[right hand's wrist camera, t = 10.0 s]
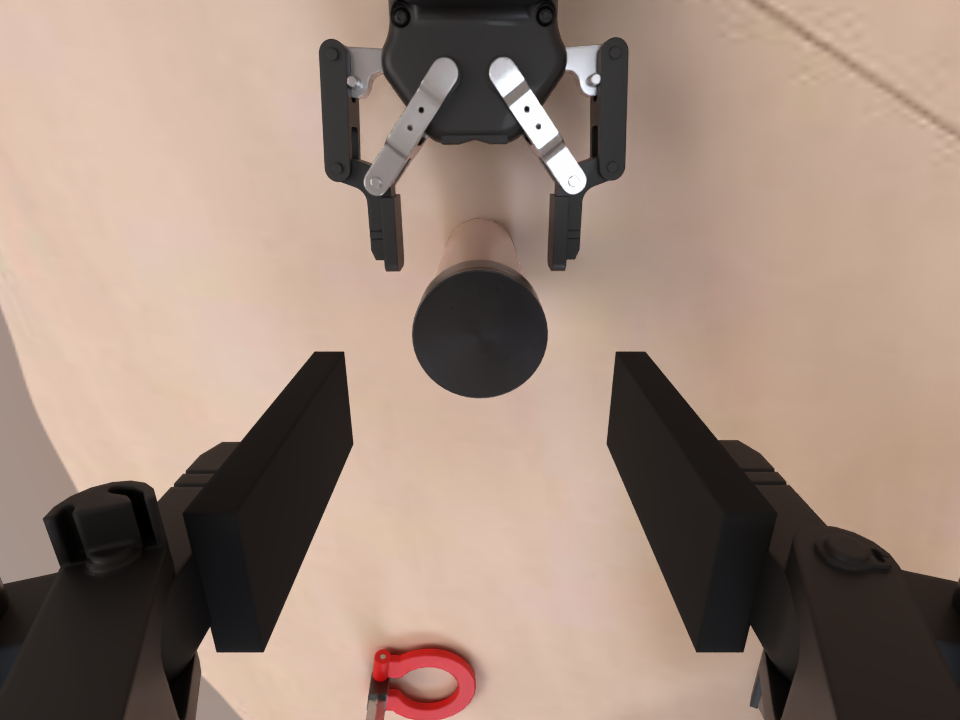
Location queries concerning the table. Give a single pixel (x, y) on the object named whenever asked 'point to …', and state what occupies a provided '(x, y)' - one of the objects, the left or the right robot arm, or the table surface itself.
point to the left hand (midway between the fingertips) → (476, 268)
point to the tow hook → (399, 665)
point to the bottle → (480, 245)
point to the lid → (479, 329)
